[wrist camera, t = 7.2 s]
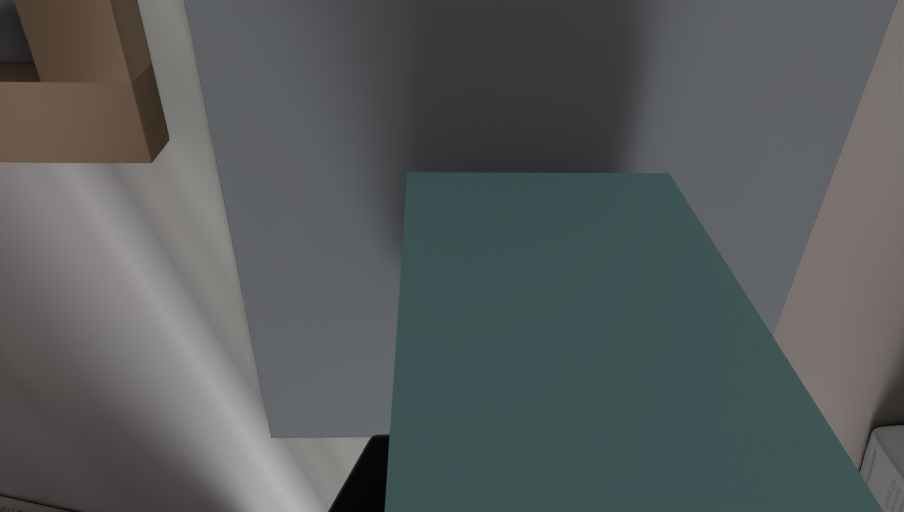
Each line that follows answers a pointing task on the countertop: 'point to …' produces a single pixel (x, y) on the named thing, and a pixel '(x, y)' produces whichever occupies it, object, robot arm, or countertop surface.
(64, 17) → the walnut stand
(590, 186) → the teal post
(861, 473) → the supplement box
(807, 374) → the countertop surface
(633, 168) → the charcoal mat
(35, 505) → the coffee box
